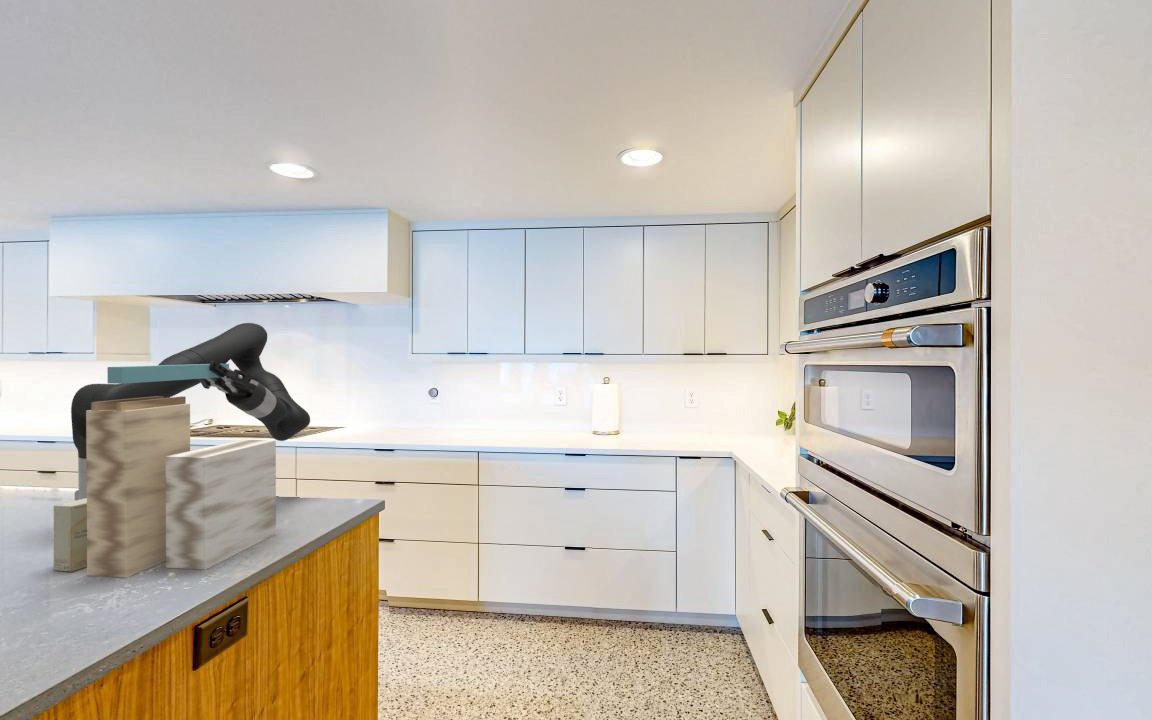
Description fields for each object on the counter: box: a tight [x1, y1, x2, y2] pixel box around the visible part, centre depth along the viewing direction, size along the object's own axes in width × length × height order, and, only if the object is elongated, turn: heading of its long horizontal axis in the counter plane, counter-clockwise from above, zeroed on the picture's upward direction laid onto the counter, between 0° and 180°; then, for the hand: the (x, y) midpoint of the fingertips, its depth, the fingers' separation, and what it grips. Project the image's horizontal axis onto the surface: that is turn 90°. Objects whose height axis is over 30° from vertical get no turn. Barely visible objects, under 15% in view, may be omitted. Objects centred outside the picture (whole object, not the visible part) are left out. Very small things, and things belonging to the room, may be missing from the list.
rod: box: [107, 363, 230, 384], centre depth 112 cm, size 3×26×3 cm, turn 173°
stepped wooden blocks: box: [86, 395, 277, 579], centre depth 110 cm, size 19×25×32 cm
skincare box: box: [53, 498, 87, 572], centre depth 103 cm, size 6×4×12 cm
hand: (204, 364), depth 120 cm, fingers closed on rod, 3 cm apart
